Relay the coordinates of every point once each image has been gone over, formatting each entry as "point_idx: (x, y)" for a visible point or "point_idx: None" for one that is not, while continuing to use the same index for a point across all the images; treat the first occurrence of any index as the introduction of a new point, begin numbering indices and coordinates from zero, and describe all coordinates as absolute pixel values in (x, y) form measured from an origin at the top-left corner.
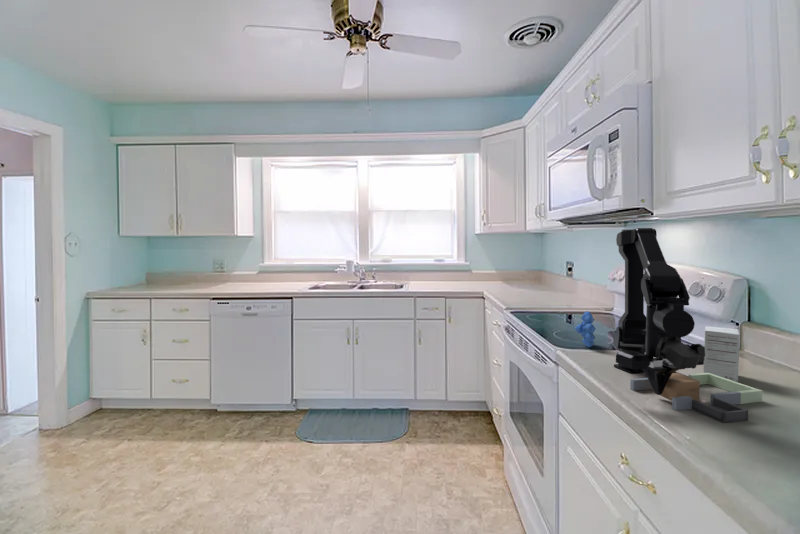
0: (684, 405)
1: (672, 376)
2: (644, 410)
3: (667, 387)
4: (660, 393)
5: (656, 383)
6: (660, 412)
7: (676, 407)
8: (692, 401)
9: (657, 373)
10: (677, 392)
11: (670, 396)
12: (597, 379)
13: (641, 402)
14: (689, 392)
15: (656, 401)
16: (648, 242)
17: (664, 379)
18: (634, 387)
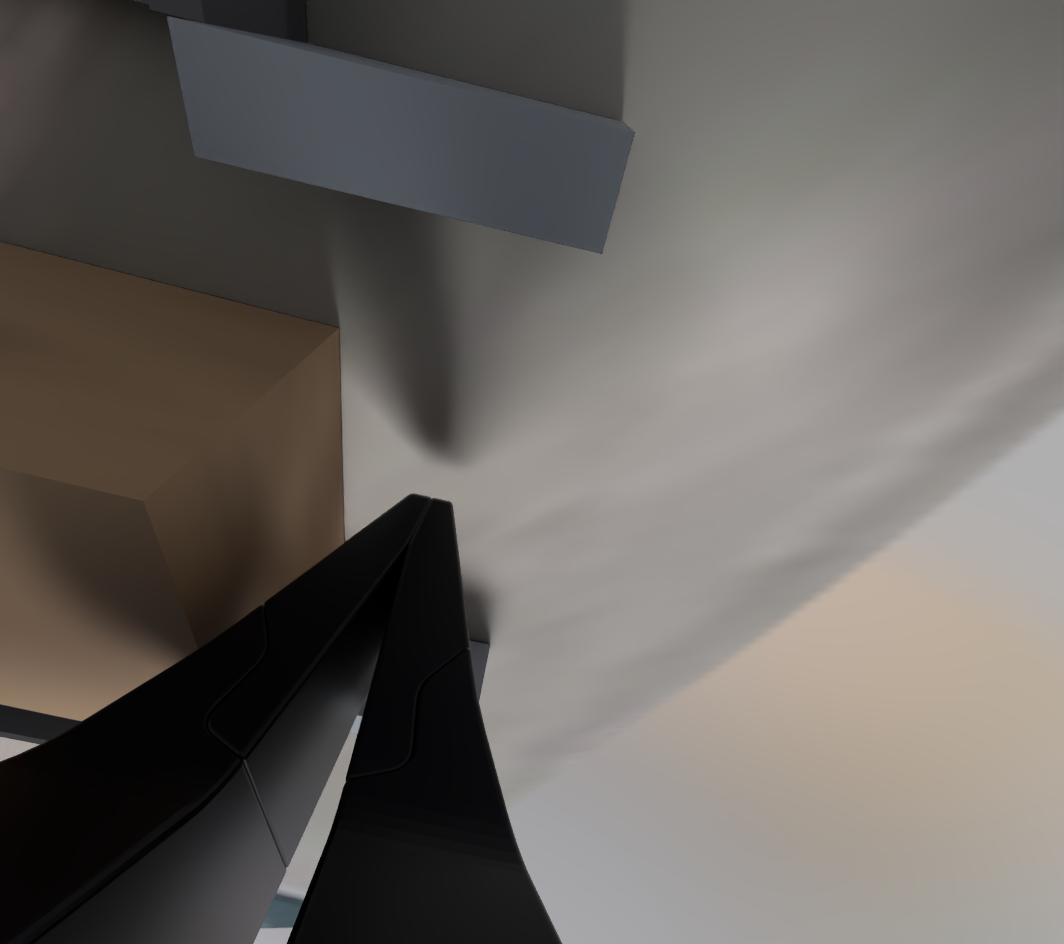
0: (440, 79)
1: (32, 657)
2: (1007, 348)
3: (275, 535)
4: (425, 504)
5: (467, 638)
6: (923, 191)
7: (619, 122)
8: (224, 11)
9: (519, 887)
10: (249, 389)
11: (322, 429)
12: (533, 785)
13: (721, 497)
14: (22, 321)
15: (538, 446)
16: None
17: (317, 660)
18: (474, 667)
